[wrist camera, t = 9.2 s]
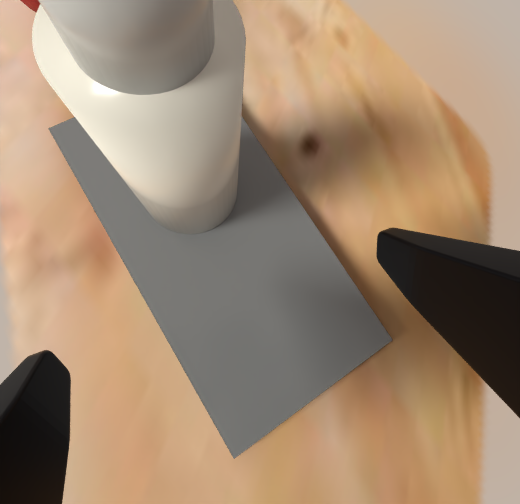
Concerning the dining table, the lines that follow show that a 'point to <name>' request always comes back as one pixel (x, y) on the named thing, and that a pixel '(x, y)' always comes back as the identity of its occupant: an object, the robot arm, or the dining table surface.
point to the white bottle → (154, 96)
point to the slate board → (238, 291)
